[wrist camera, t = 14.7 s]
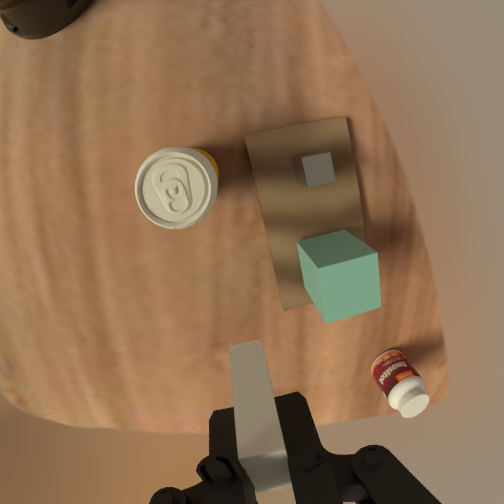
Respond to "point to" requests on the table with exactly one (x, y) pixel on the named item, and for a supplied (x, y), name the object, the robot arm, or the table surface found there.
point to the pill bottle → (400, 383)
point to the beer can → (177, 186)
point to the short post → (313, 169)
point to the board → (303, 196)
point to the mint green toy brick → (340, 274)
